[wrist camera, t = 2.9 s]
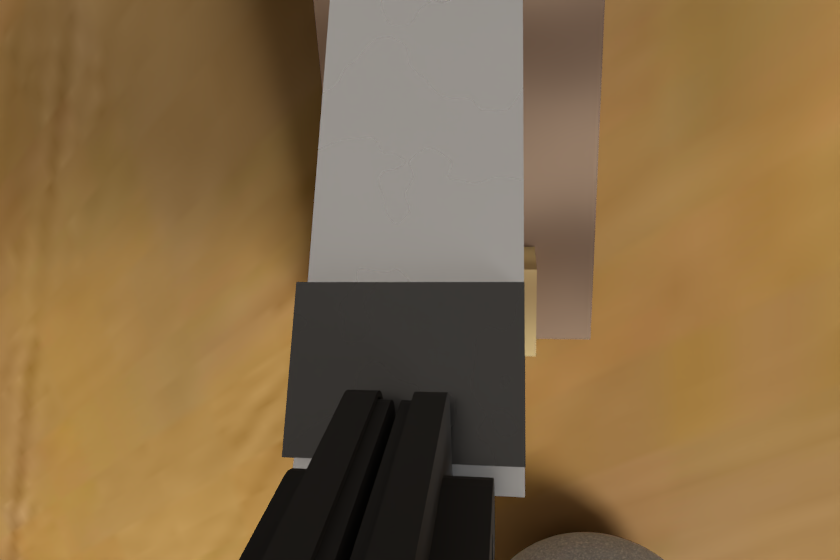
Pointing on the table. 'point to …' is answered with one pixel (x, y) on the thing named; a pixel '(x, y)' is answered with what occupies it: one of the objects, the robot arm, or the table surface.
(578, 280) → the mount block
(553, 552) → the decorative stone
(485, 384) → the grey flat bar
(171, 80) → the table surface
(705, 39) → the table surface
